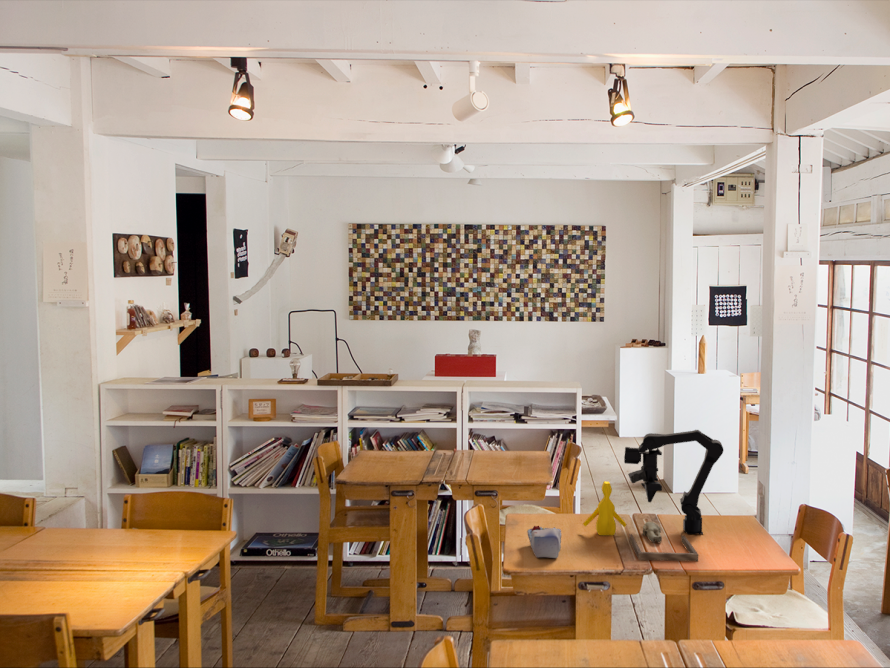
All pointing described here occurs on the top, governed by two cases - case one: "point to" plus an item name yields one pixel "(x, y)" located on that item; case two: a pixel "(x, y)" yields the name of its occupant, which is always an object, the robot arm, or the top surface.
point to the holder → (666, 556)
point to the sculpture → (652, 531)
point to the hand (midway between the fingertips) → (649, 502)
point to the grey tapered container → (545, 541)
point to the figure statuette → (605, 514)
